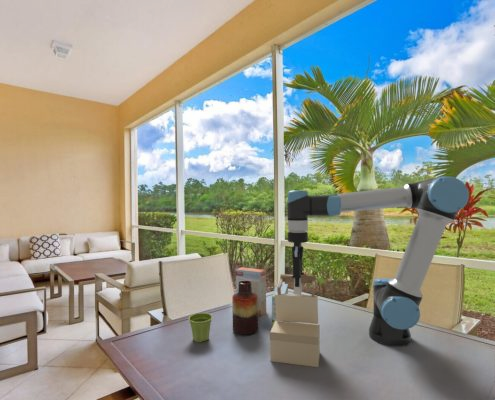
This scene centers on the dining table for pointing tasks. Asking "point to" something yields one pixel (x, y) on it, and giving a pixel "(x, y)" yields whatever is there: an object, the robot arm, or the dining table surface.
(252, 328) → the vase
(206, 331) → the plant pot
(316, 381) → the dining table surface
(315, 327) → the carton
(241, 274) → the cracker box
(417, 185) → the robot arm
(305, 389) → the dining table surface
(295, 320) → the flap
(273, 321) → the snack box
